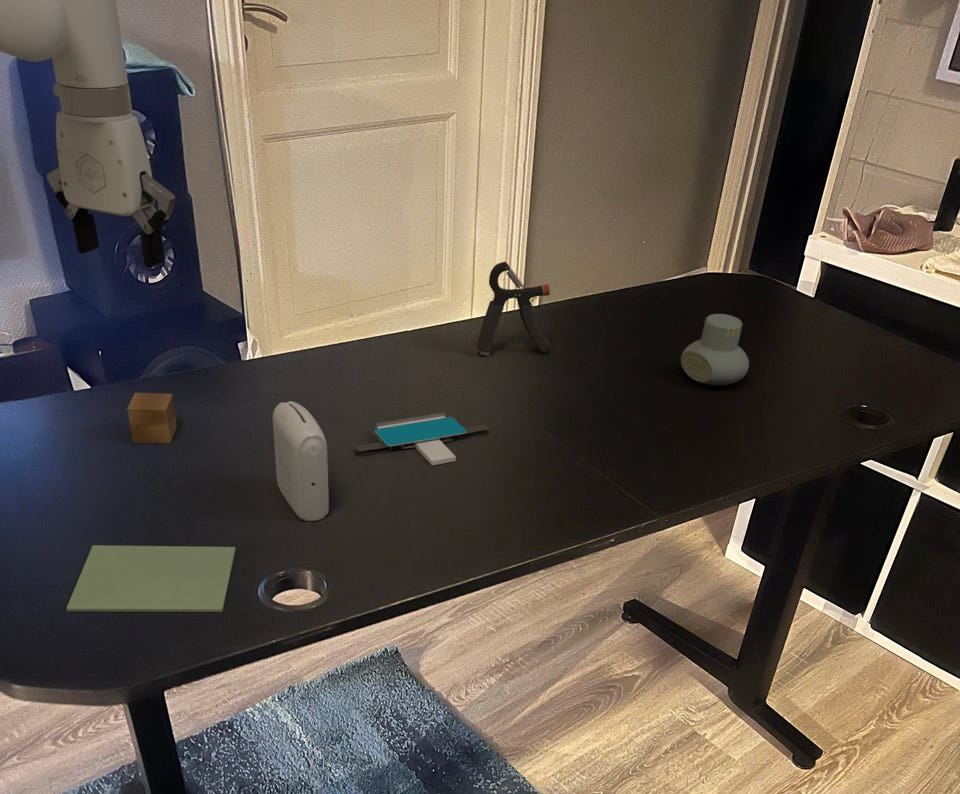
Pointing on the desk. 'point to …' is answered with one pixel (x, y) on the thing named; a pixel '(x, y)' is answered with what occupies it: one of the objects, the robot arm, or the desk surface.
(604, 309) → the desk surface
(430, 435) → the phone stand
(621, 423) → the desk surface
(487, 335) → the hand grip strengthener
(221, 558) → the mat
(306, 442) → the photo printer
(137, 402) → the block
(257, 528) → the desk surface
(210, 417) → the desk surface
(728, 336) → the air freshener
